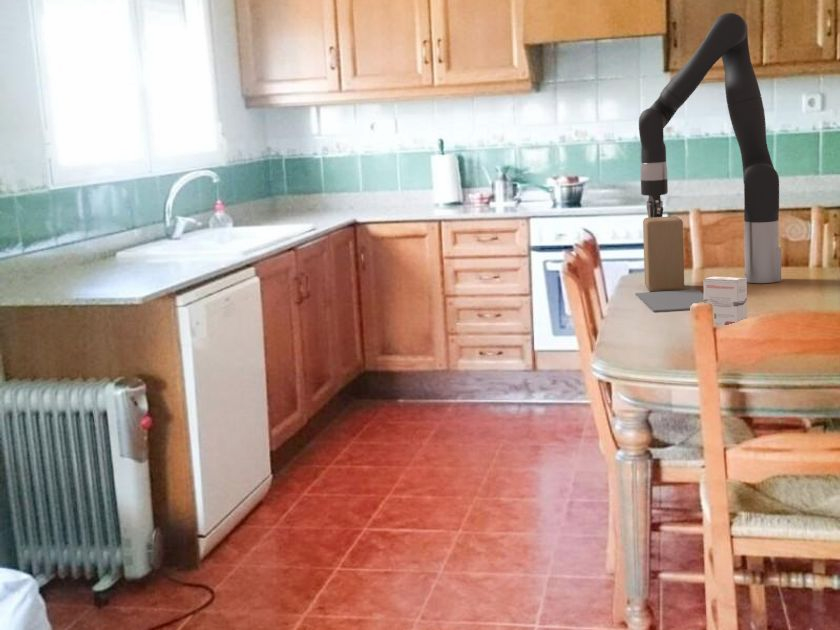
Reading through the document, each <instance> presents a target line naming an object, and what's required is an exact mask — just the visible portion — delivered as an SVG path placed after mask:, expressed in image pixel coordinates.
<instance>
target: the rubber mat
mask: <svg viewBox="0 0 840 630" xmlns="http://www.w3.org/2000/svg"><path fill="white" fill-rule="evenodd" d="M634 295H635V296H636V297H637V296H638V297H639V298H640V299H639V298H638V297H637V298H638V299H639V300H640V301H641V300H642V301H643V302H644V303H645V304H646V305H645V304H644V303H643V302H642V301H641V302H642V303H643V304H644V305H645V306H646V307H647V308H649V309H650V310H651V311H652V312H653V313H661V312H662V313H663V312H665V313H666V312H678V311H679V312H681V311H691V310H690V306H691V305H692V304H693V303H699V302H704V292H702V291H700V290H699V289H698V288H694V289H682V290H674V291H654V292H651V291H649V292H636V293H635V294H634Z"/></svg>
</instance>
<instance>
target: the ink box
mask: <svg viewBox="0 0 840 630" xmlns="http://www.w3.org/2000/svg"><path fill="white" fill-rule="evenodd" d="M747 285H748V282H747V278H745V277H728V276H708V277H706V278H704V279H703V294H704V303H710V304H712V306H713V309H714V319H715V325H716V326H723V325H729V324H732V323H735V322H738V321H740V320H743V319H746V318H747V319H748V311H747V310H748V305H747V304H748V303H747V302H748V298H747V297H748V294H747V292H748V291H747V290H748V286H747Z"/></svg>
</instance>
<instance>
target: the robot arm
mask: <svg viewBox="0 0 840 630" xmlns="http://www.w3.org/2000/svg"><path fill="white" fill-rule="evenodd" d="M748 35H749V34H748V26H747V23H746V20H745V19H744V17H742V16H741V15H739V14H737V13H734V12H727V13H726V12H725V13H723V14H721V15H719V16H717V18H716V19H715V21H713V24H712V26H711V28H710V29H709V31H708V33H707V34H706V37H705V38H704V39H703V41H702V43H701V44H700V46H698V48H697V49H696V50H695V52H694V53H693V55H692V56H691V57H690V58H689V59H688V60H687V62H686V63H684V64H683V66H682V67H681V68H680V69H679V70H678V71H677V72H676V74H675V75H674V76H673V77H672V78H671V80H669V82H668V83H667V84H666V86H665V87H664V88H663V89H662V91H661V92H660V94H659V96H658V98H657V99H656V100H655V101H654V103H652V105H651V106H650V107H649V108H646V109H645V110H643V111H642V112H641V113H640V116H639V118H638V133H639V140H640V144H641V146H640V147H641V150H640V152H641V153H640V155H641V156H640V159H641V160H640V161H641V162H640V163H641V165H640V194H641V195H642V196H646V197H647V196H648V201H646V210H647V211H646V212H647V218H652V217H663V212H664V207H663V205H664V203H663V200H661V199H662V198H661V196H665V195H667V194H668V191H669V190H668V187H669V186H668V184H669V183H668V167H667V147H666V144H665V141H664V128H665V127H666V126H667V125H668V124H669V122H670V121H671V120H672V118H673V117H674V115H675V114H676V112H677V111H678V110H679V109H680V108H681V107H682V106H683V105H684V104H685V102H686V101H687V100H688V99H689V97H690V96H691V95H693V93H694V92H695V91H696V89H697V88H698V87H699V85H700V84H701V82H702V81H703V80H704V78H705V77H706V75H707V74H708V72H709V71H710V70H711V69H712V67H714V65H715V64H716V63H717V62H718V61H719V60H720V59H721V60H722V64H723V70H724V86H725V87H724V88H725V90H724V91H725V97H726V104H727V111H728V114H729V119H730V122H731V126H732V129H733V133H734V136H735V139H736V140H737V143H738V146H739V150H740V151H739V152H740V154H741V163H742V176H743V177H742V178H743V179H742V180H743V189H744V190H743V193H744V197H743V198H744V200H743V201H744V202H743V203H744V207H743V208H744V209H743V211H744V212H743V214H744V215H743V222H744V223H743V226H744V228H743V230H744V231H743V232H744V278H747V283H750V284H769V283H776V282H782V248H781V247H780V244H779V243H780V240H779V239H780V238H779V236H780V233H779V232H780V231H779V230H780V229H779V227H780V226H779V225H780V224H779V221H780V220H779V214H780V178H779V174H778V172H777V170H776V169H775V168H774V164H773V161H772V158H771V156H770V152H769V147H768V144H767V127H766V116H765V108H764V104H763V98H762V94H761V91H760V85H759V83H758V79H757V76H756V73H755V71H754V68H753V64H752V62H751V60H752V59H751V54H750V47H749V37H748Z"/></svg>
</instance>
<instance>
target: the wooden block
mask: <svg viewBox="0 0 840 630" xmlns="http://www.w3.org/2000/svg"><path fill="white" fill-rule="evenodd" d="M642 228H643V229H642V234H643V237H642V238H643V239H642V240H643V264H644V265H643V266H644V285H645V287H646V288H647V290H648V291H649V292H661V291H677V290H685V289H684V288H685V263H684V262H685V258H684V257H685V256H684V253H685V252H684V222H683V220H682V219H681V218H680V217H678V216H675V215H673V216H672V215H671V216H662V217H652V218H648V217H646V218H643V220H642Z"/></svg>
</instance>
